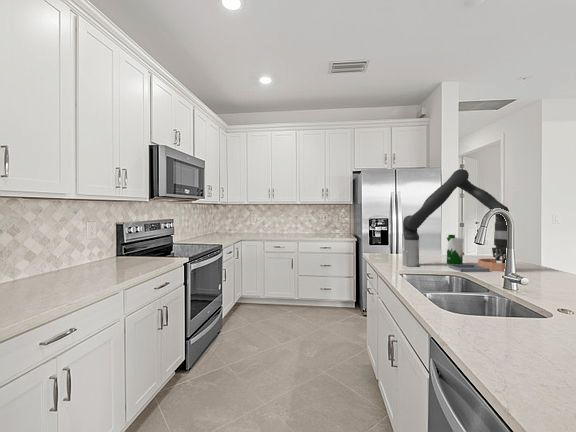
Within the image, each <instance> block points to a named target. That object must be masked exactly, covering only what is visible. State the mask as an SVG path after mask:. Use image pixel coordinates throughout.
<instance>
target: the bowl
mask: <svg viewBox="0 0 576 432" xmlns="http://www.w3.org/2000/svg"><path fill="white" fill-rule="evenodd" d="M500 260H501V261H502V258H500ZM477 265H478V266H482V267H485V268H488V269H490V272H503V273H505V272H504V269H505V263H496V259H495V258H479V259H477Z"/></svg>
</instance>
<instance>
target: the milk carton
mask: <svg viewBox="0 0 576 432" xmlns="http://www.w3.org/2000/svg"><path fill="white" fill-rule="evenodd" d="M445 240H446V264H448V265H461V264H464V263H463V256H464V254H463V251H464V248H463V247H464V246H463V244H464V238H462V237H456V234H448V235H447V237H445Z"/></svg>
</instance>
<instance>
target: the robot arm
mask: <svg viewBox="0 0 576 432" xmlns="http://www.w3.org/2000/svg"><path fill="white" fill-rule="evenodd" d="M469 174H470V173H469V172H468V170H466V169H464V168H460V169H457V170H455V171H453V172H452V174H451V175H450V176H449V178H448V179H447V180H446V181H445V182H444V183H443V184H442V185H440V186H439V187H438V188H437V189H436V190H435V191H433V192H432V193H431V194H430V195H429V196H428V197H426V200H424V202H423V204H422V206H421V207H420V208H419V209H418V210H417V211H416V212H415V213H413V214H412V215H407V216H405V217H404V219H403V221H402V230H403V231H402V234H403V238H404V239H403V240H404V241H403V250H402V265H403V266H405V267H412V268H413V267H419V266H420V236H419V233H418V229H419V228H420V227H421V226H422V225H423V223H424V222H425V221H426V220H427V218H429V217H430V216H431V215H432V214H433V213H434V212H435V211H437V210H438V209H439V208H440V207H441V206H442V205H443V204H445V202H446V201H447V200H448V199H449V198H450V196H451V195H452V194H453V192H454V191H455V190H456V189H457V188H459V189H461V190H463V191H464V192H465V193H467V194H469V195H470V196H471V197H473V198H474V199H476V200H477V201H478V202H479V203H481V204H482V206H483V205H484V206H485V207H486V208H487V209H489V210H490V211H491V209H494V208H501V209H504V210H506V211H508V212H509V213H510V210H509V208H508V206H507V205H504V204H503V203H502V202H500V201H498V199H496V197H494V196H493V195H492V194H490V193H489V192H488V191H486V190H484V189H482V188H480V187H478V186H476V185H474V184H473V183H471V181H469ZM494 215H495V223H494V232H493V246H495V247H492V248H491V250H492V251H491V252H492V258H494V259H496V261H497V260H500V259H502V263H505V260H506V248H507V249H508V246H507V225H506V221H505V219H504V217H503V216H502V215H500V214H494Z"/></svg>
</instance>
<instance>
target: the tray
mask: <svg viewBox="0 0 576 432" xmlns="http://www.w3.org/2000/svg"><path fill="white" fill-rule="evenodd" d="M448 268H449V269H452V270H454V271H457V272H461V273H490V272H491V271H490V269H488V268H485V267H482V266H478V264H466V263H465V264H464V263H463V264H448Z"/></svg>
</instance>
